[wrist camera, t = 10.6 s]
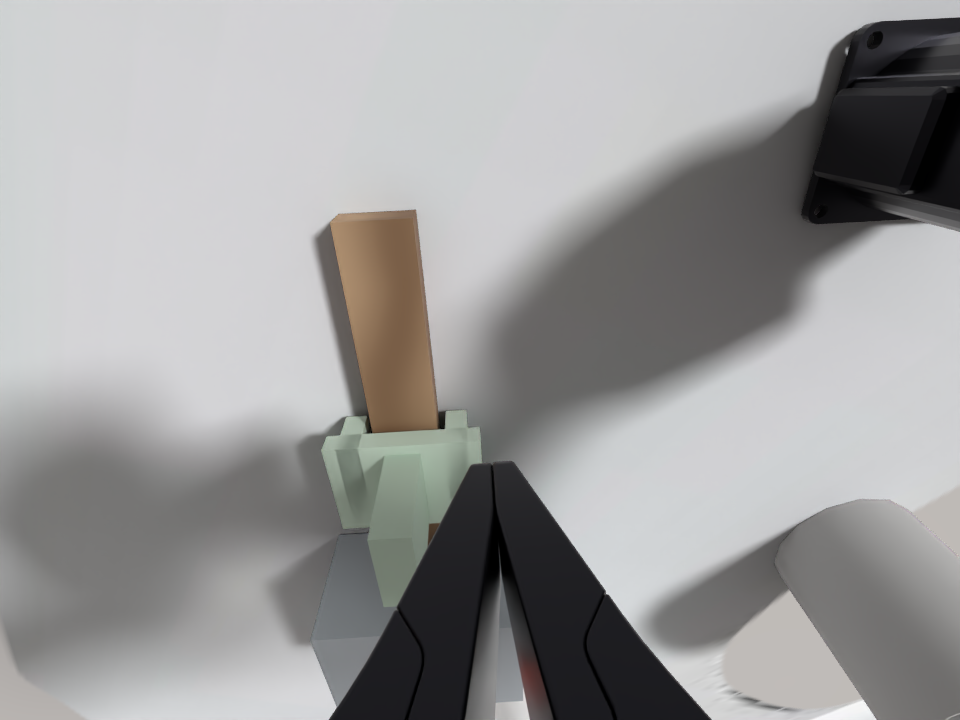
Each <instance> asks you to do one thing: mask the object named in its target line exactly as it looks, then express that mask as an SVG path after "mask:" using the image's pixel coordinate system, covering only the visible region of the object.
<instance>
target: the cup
mask: <svg viewBox="0 0 960 720" xmlns="http://www.w3.org/2000/svg"><path fill="white" fill-rule="evenodd" d="M774 565H775V567H776V568H777V570H778V572H779V574H780V576H781V577H782V579H783V581H784V582H785V584H786V585H787V587H788V588H789V590H790V591H791V592H792V594H793V595H794V597H795V598H796V600H797V601H798V603H799V604H800V606H801V607H802V609H803V610H804V612H805V613H806V615H807V616H808V618H809V619H810V621H811V622H812V623H813V625H814V627H815V628H816V630H817V631H818V633H819V634H820V636H821V637H822V639H823V640H824V642H825V643H826V645H827V646H828V647H829V649H830V650H831V652H832V654H833V655H834V656H835V658H836V660H837V661H838V663H839V664H840V666H841V667H842V668H843V670H844V671H845V673H846V674H847V676H848V677H849V679H850V680H851V682H852V683H853V685H854V686H855V688H856V689H857V691H858V692H859V694H860V695H861V697H862V698H863V700H864V701H865V703H866V704H867V706H868V707H869V709H870V710H871V712H872V713H873V715H874V716H875V718H876V719H877V720H960V557H959V556H958V555H957V554H956V553H955V552H954V551H953V550H952V549H951V548H950V547H948V546H947V545H946V544H945V543H944V542H943V541H942V540H941V539H940V538H939V537H938V536H937V535H935V534H934V533H933V532H932V531H931V530H930V529H929V528H928V527H927V526H925V525H924V524H923V523H922V522H921V521H920V520H919V519H918V518H917V517H916V516H915V515H914V514H913V513H911V512H910V511H909V510H908V509H906V508H904V507H902V506H900V505H898V504H897V503H895V502H893V501H891V500H879V499H858V500H854V501H851V502H847V503H844V504H840V505H836V506H833V507H829V508H826V509H824V510H823V511H821V512H819V513H817V514H816V515H814V516H812V517H810V518H809V519H807V520H805V521H804V522H802V523H800V524H798V525H797V526H796V527H795V528H794V529H793V530H792V532H791V533H790V534H789V535H788V536H787V537H786V538H785V539H784V540H783V541H782V542H781V544H780V545H779V548H778V551H777V555H776V559H775V563H774Z"/></svg>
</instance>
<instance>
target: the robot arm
mask: <svg viewBox="0 0 960 720" xmlns="http://www.w3.org/2000/svg"><path fill="white" fill-rule="evenodd" d="M871 34H873V36H874V40H873V43H872V45H871V46H870V47H869V48H868V46H867V40H868V38H869V36H870V35H871ZM820 205H821V209H820V211H819V212H818V213H817V214H816V215H815V210H816V208H817V207H818V206H820ZM801 215H802V217H803V219H804V220H805V221H807V222H810V223H814V224H828V223H846V222H864V221H882V220H900V219H914V220H918V221H922V222H925V223H929V224H933V225H936V226H940V227H944V228H948V229H951V230H955V231H959V232H960V18H941V19H921V20H901V21H881V22H875V23H870V24H867V25H864V26H863V27H862V28H860V29H859V30H858V31H857V32H856V34H855V35H854V37H853V39H852V41H851V44H850V48H849V51H848V55H847V58H846V61H845V65H844V68H843V72H842V75H841V78H840V82H839V85H838V89H837V92H836V95H835V97H834V99H833V102H832V106H831V109H830V112H829V116H828V119H827V123H826V126H825V130H824V133H823V136H822V140H821V143H820V147H819V150H818V153H817V157H816V160H815V164H814V167H813V174H812V177H811V180H810V184H809V187H808V191H807V194H806V198H805V201H804V204H803V208H802V214H801ZM492 470H493V471H492ZM499 555H500V557H499ZM500 566H501V573H500ZM501 575H502V582H503V588H504V593H505V598H506V603H507V608H508V613H509V618H510V623H511V628H512V633H513V638H514V643H515V648H516V653H517V658H518V663H519V668H520V673H521V678H522V683H523V688H524V693H525V698H526V703H527V708H528V713H529V718H530V720H711V718H710V717H709V716H708V715H707V714H706V713H705V712H704V711H703V709H702V708H701V707H700V706H699V705H698V704H697V703H696V702H695V700H694V699H693V698H692V697H691V696H690V695H689V694H688V693H687V691H686V690H685V689H684V688H683V687H682V686H681V685H680V684H679V682H678V681H677V680H676V679H675V678H674V677H673V676H672V675H671V673H670V672H669V671H668V670H667V669H666V668H665V666H664V665H663V664H662V663H661V662H660V661H659V659H658V658H657V657H656V656H655V655H654V653H653V652H652V651H651V650H650V649H649V648H648V646H647V645H646V644H645V643H644V642H643V640H642V639H641V638H640V636H639V635H638V634H637V632H636V631H635V630H634V629H633V627H632V626H631V625H630V623H629V622H628V621H627V619H626V618H625V617H624V615H623V614H622V613H621V611H620V610H619V608H618V607H617V606H616V604H615V603H614V601H613V600H612V599H611V597H610V596H609V595H608V594H606V591H605V589H604V588H603V586H602V585H601V584H600V582H599V581H598V579H597V578H596V577H595V575H594V574H593V572H592V571H591V570H590V568H589V567H588V565H587V564H586V563H585V561H584V560H583V558H582V557H581V556H580V554H579V553H578V551H577V550H576V549H575V547H574V546H573V544H572V543H571V542H570V540H569V539H568V537H567V536H566V535H565V533H564V532H563V530H562V529H561V528H560V526H559V525H558V523H557V522H556V521H555V519H554V518H553V516H552V515H551V514H550V512H549V511H548V509H547V508H546V507H545V505H544V504H543V502H542V501H541V500H540V498H539V497H538V495H537V494H536V493H535V491H534V490H533V488H532V487H531V486H530V484H529V483H528V481H527V480H526V478H525V477H524V476H523V474H522V473H521V471H520V470H519V469H518V467H517V466H516V464H515V463H514V462H512V461H502V462H494V463H493V465H491V464H490V463H477V464H472V465H471V466H470V467H469V469H468V470H467V472H466V474H465V476H464V478H463V480H462V482H461V484H460V486H459V488H458V490H457V492H456V493H455V495H454V497H453V499H452V501H451V503H450V505H449V507H448V509H447V511H446V513H445V515H444V516H443V518H442V520H441V522H440V524H439V526H438V528H437V530H436V532H435V534H434V536H433V538H432V539H431V541H430V543H429V545H428V547H427V549H426V551H425V553H424V555H423V557H422V559H421V560H420V562H419V564H418V566H417V568H416V570H415V572H414V574H413V576H412V578H411V580H410V582H409V583H408V585H407V587H406V589H405V591H404V593H403V595H402V597H401V599H400V601H399V603H398V605H397V607H396V608H397V610H395V611H394V612H393V614H392V616H391V618H390V619H389V621H388V623H387V625H386V627H385V629H384V631H383V633H382V635H381V636H380V638H379V640H378V642H377V643H376V645H375V647H374V649H373V651H372V652H371V654H370V656H369V658H368V660H367V661H366V663H365V665H364V666H363V668H362V669H361V671H360V672H359V674H358V676H357V677H356V679H355V680H354V682H353V684H352V685H351V687H350V688H349V690H348V691H347V693H346V695H345V696H344V698H343V699H342V701H341V702H340V704H339V705H338V707H337V708H336V710H335V711H334V713H333V714H332V716H331V717H330V719H329V720H495V707H496V684H497V661H498V637H499V614H500V591H501Z"/></svg>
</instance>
